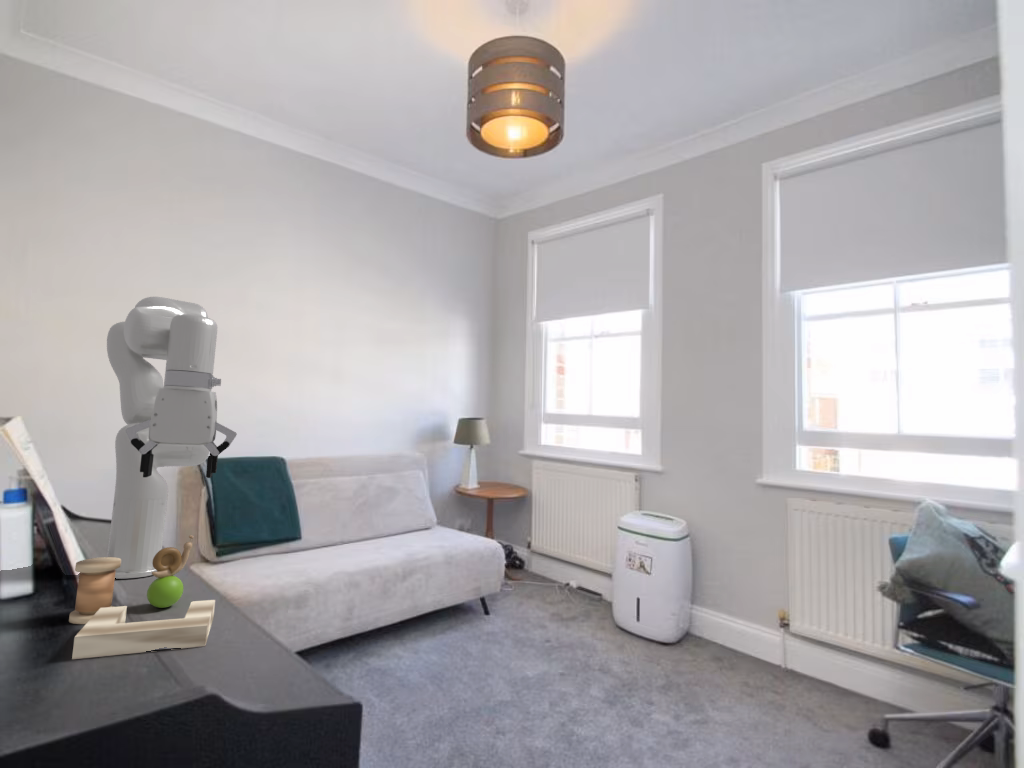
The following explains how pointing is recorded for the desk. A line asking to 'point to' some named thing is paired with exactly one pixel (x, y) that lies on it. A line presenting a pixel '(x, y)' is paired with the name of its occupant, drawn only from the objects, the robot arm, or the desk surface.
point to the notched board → (142, 632)
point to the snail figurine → (168, 576)
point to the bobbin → (94, 587)
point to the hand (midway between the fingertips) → (178, 476)
